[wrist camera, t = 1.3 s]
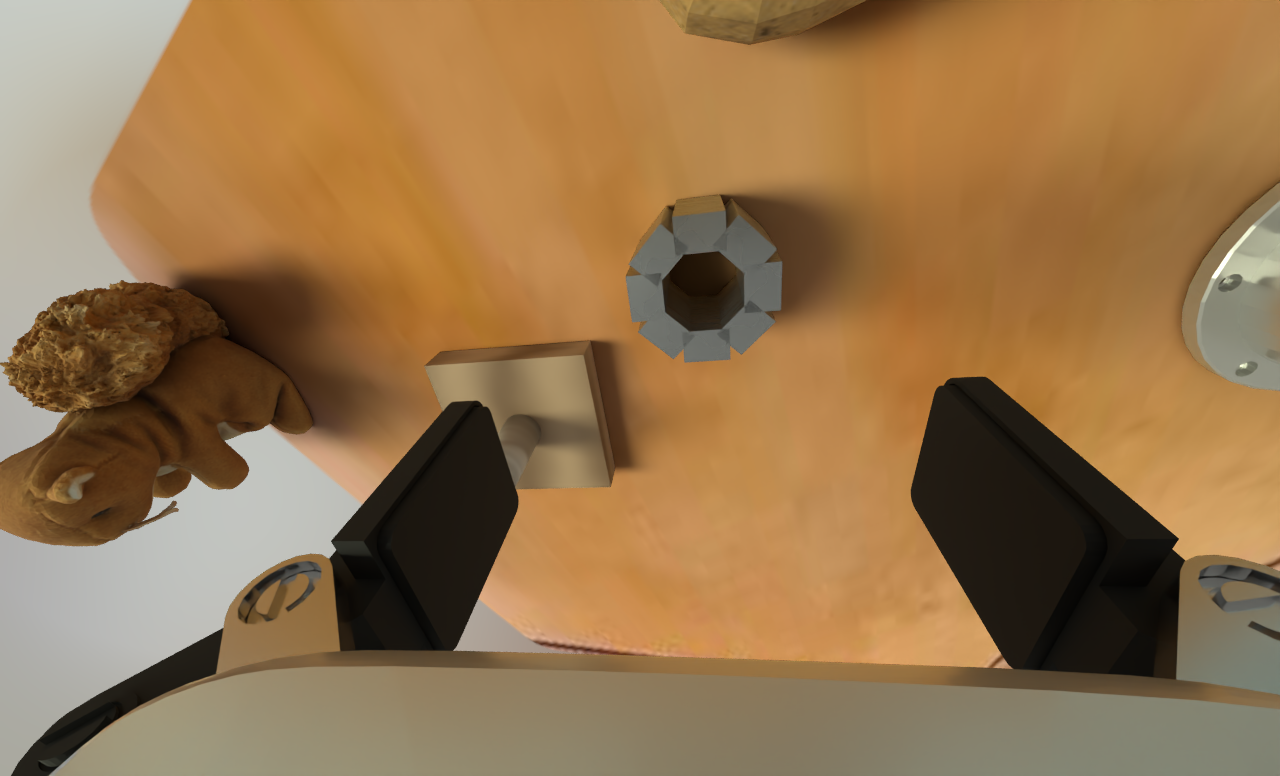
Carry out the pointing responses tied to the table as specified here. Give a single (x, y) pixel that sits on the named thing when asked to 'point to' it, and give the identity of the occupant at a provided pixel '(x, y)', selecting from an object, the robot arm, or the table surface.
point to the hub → (712, 318)
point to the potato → (752, 17)
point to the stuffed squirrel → (133, 411)
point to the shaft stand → (536, 409)
